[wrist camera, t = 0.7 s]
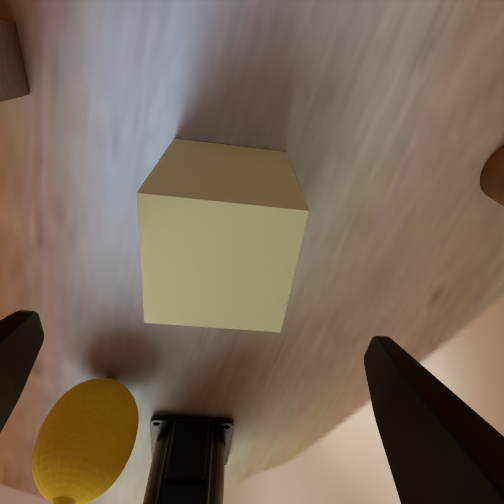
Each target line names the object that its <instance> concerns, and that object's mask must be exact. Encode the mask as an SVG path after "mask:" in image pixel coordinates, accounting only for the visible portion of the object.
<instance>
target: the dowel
mask: <svg viewBox="0 0 504 504" xmlns="http://www.w3.org/2000/svg"><path fill="white" fill-rule="evenodd" d="M480 186H481V189H482V191H483V192H484V193H485V194H486V195H487V196H489V197H490V198H492V199H493V200H495V201H497V202H498V203H500V204H501V205H503V206H504V146H503V147H502V148H500V149H499V150H498V151H496V152H495V153H494V154H493V155H492V156H491V157H490V158H489V160H488V161H487V162H486V164H485V166H484V167H483V170H482V172H481V176H480Z"/></svg>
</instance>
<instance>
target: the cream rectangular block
mask: <svg viewBox="0 0 504 504" xmlns="http://www.w3.org/2000/svg"><path fill="white" fill-rule="evenodd" d="M137 205H138V223H139V241H140V259H141V276H142V294H143V312H144V323H155V324H169V325H183V326H197V327H211V328H225V329H240V330H254V331H268V332H281V329H282V325H283V321H284V316H285V312H286V308H287V304H288V300H289V295H290V291H291V287H292V283H293V278H294V274H295V270H296V266H297V262H298V257H299V253H300V249H301V245H302V240H303V236H304V232H305V228H306V224H307V219H308V215H309V209H308V206H307V204H306V201H305V199H304V196H303V194H302V192H301V189H300V187H299V184H298V182H297V179H296V177H295V174H294V172H293V169H292V167H291V165H290V162H289V160H288V157H287V155H286V152H283V151H275V150H267V149H258V148H250V147H242V146H234V145H225V144H217V143H209V142H200V141H192V140H184V139H176V138H174V139H173V141H172V142H171V144H170V145H169V147H168V148H167V150H166V151H165V153H164V154H163V155H162V157H161V158H160V160H159V161H158V163H157V164H156V166H155V167H154V169H153V170H152V171H151V173H150V174H149V176H148V177H147V179H146V180H145V182H144V183H143V185H142V186H141V187H140V189H139V190H138V192H137Z"/></svg>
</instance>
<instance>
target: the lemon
mask: <svg viewBox="0 0 504 504" xmlns="http://www.w3.org/2000/svg"><path fill="white" fill-rule="evenodd" d="M138 421H139V418H138V409H137V405H136V402H135V399H134V397H133V396H132V394H131V393H130V391H129V390H128V389H127V388H126V387H125V386H124V385H122V384H120V383H118V382H116V381H115V380H114V379H113V378H107V379H92V380H88V381H85V382H82V383H80V384H78V385H76V386H75V387H73V388H72V389H70V390H69V391H67V392H66V393H65V394H64V395H63V396H62V397H61V398H60V399H59V400H58V401H57V403H56V404H55V405H54V407H53V408H52V409H51V411H50V412H49V414H48V415H47V417H46V419H45V421H44V422H43V425H42V427H41V429H40V432H39V434H38V438H37V441H36V445H35V449H34V454H33V460H32V475H33V478H34V481H35V484H36V486H37V488H38V490H39V491H40V493H41V494H42V495H43V496H44V497H45V498H46V499H47V500H49V501H51V502H52V503H53V504H85V503H87V502H89V501H92V500H94V499H95V498H97V497H98V496H100V495H101V494H103V493H104V492H105V491H107V490H108V489H109V488H110V487H111V486H112V485H113V483H114V482H115V481H116V479H117V478H118V477H119V475H120V474H121V472H122V470H123V469H124V467H125V465H126V463H127V461H128V459H129V457H130V455H131V452H132V450H133V447H134V444H135V440H136V435H137V430H138Z"/></svg>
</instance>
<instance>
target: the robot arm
mask: <svg viewBox="0 0 504 504" xmlns="http://www.w3.org/2000/svg"><path fill="white" fill-rule="evenodd" d="M43 340H44V332H43V329H42V325H41V321H40V318H39V315H38V313H37V312H35V311H26V310H19V311H16V312H14V313H13V314H11V315H9V316H7V317H5V318H4V319H2V320H0V432H1V431H2V429H3V427H4V425H5V423H6V422H7V420H8V418H9V416H10V414H11V413H12V411H13V409H14V407H15V405H16V403H17V401H18V399H19V397H20V395H21V393H22V391H23V389H24V386H25V384H26V382H27V379H28V377H29V374H30V372H31V370H32V367H33V365H34V363H35V360H36V358H37V356H38V353H39V351H40V348H41V346H42V344H43ZM364 366H365V371H366V376H367V381H368V386H369V391H370V397H371V402H372V406H373V411H374V416H375V419H376V423H377V426H378V429H379V433H380V436H381V439H382V442H383V446H384V449H385V452H386V456H387V459H388V462H389V466H390V469H391V472H392V475H393V478H394V482H395V485H396V488H397V492H398V495H399V498H400V501H401V504H504V436H502V435H501V434H500V433H499V432H498V431H497V430H496V429H494V428H493V427H492V426H491V425H490V424H489V423H487V422H486V421H485V420H484V419H483V418H482V417H480V416H479V415H478V414H477V413H476V412H475V411H474V410H473V409H471V408H470V407H469V406H468V405H467V404H466V403H465V402H463V401H462V400H461V399H460V398H459V397H458V396H457V395H455V394H454V393H453V392H452V391H451V390H450V389H448V388H447V387H446V386H445V385H444V384H443V383H441V382H440V381H439V380H438V379H437V378H436V377H435V376H433V375H432V374H431V373H430V372H429V371H428V370H427V369H425V368H424V367H423V366H422V365H421V364H420V363H419V362H417V361H416V360H415V359H414V358H413V357H412V356H410V355H409V354H408V353H407V352H406V351H405V350H404V349H402V348H401V347H400V346H399V345H398V344H397V343H396V342H394V341H393V340H392V339H391V338H389V337H387V336H374V337H373V338H372V339H371V342H370V344H369V346H368V349H367V351H366V353H365V356H364ZM232 431H233V421H232V420H231V419H224V418H203V417H181V416H160V415H156V416H153V417H152V418H151V422H150V433H151V451H152V463H151V468H150V473H149V477H148V482H147V487H146V492H145V496H144V501H143V504H223V492H224V465H226V464H227V461H228V455H229V449H230V443H231V437H232Z"/></svg>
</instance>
